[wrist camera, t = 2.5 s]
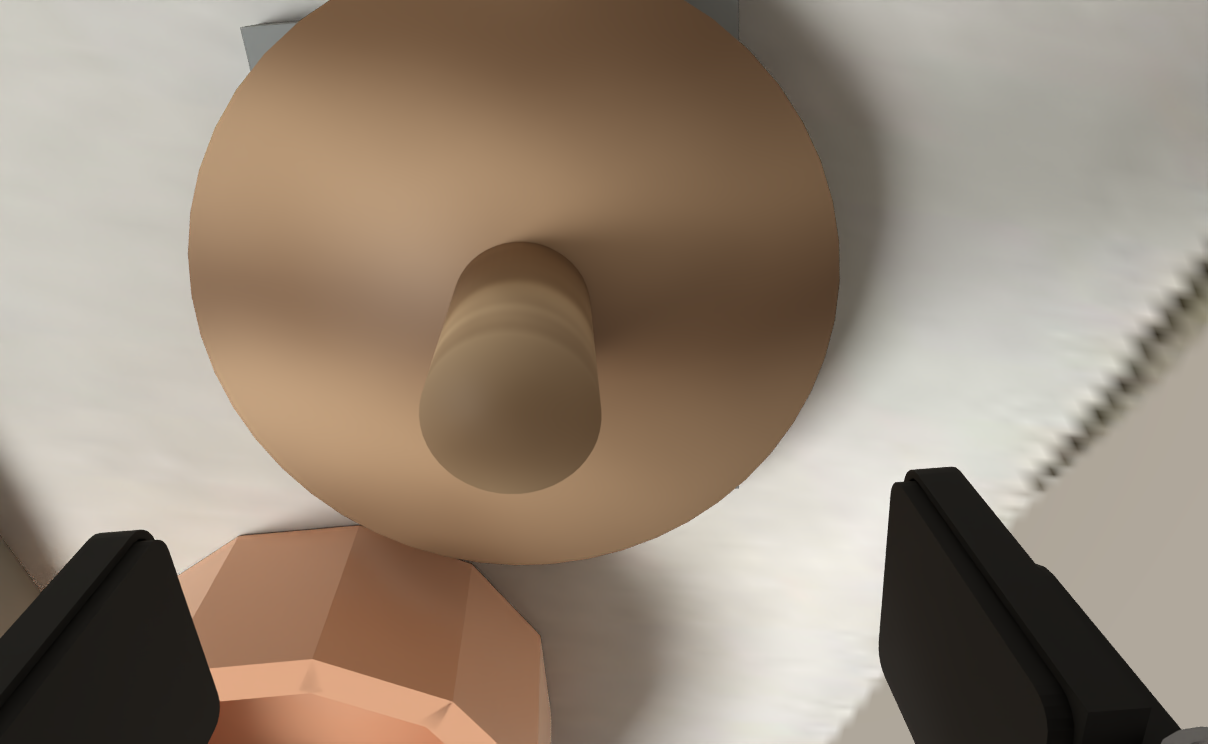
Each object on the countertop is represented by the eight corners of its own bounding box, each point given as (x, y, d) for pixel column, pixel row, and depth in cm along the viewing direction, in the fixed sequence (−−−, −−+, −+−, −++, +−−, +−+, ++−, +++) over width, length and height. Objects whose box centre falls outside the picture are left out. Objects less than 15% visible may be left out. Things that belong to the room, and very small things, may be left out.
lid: (123, -21, 16) (-102, -16, 11) (839, -76, 17) (983, -98, 11) (290, 558, 22) (202, 754, 17) (812, 512, 23) (896, 690, 17)
